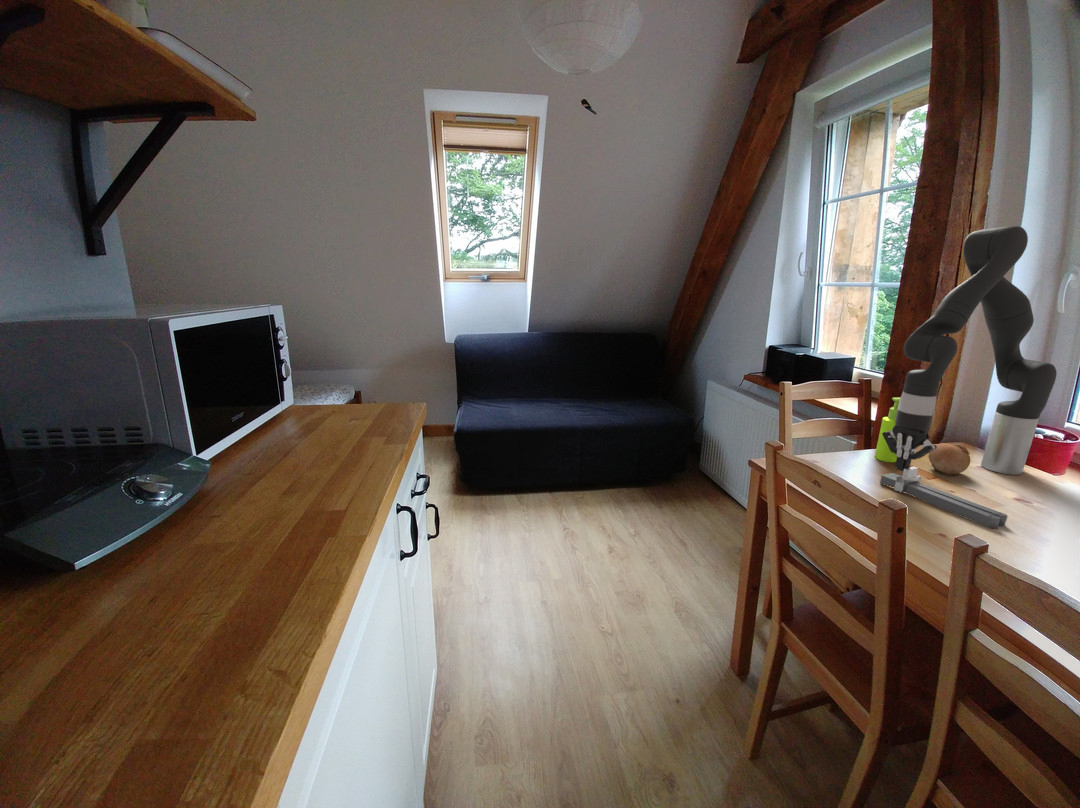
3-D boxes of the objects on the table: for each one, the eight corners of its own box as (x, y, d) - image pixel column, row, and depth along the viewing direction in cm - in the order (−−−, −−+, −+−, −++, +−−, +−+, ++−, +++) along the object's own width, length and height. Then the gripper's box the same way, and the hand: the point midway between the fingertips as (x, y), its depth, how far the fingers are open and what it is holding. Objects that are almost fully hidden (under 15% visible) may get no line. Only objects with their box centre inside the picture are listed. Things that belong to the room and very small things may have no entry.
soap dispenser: (904, 463, 149) (918, 401, 143) (879, 461, 150) (893, 400, 145) (895, 456, 155) (908, 396, 149) (871, 454, 156) (883, 395, 150)
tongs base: (880, 483, 135) (881, 475, 134) (890, 480, 137) (892, 472, 136) (994, 529, 112) (997, 519, 111) (1005, 525, 113) (1008, 516, 113)
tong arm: (901, 486, 133) (902, 479, 132) (905, 485, 133) (907, 478, 133) (1002, 525, 113) (1004, 517, 112) (1006, 524, 114) (1009, 515, 113)
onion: (957, 482, 143) (983, 456, 139) (948, 481, 138) (975, 454, 134) (925, 461, 150) (950, 435, 146) (915, 459, 144) (941, 433, 140)
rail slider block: (893, 489, 131) (898, 468, 129) (910, 485, 133) (915, 464, 131) (901, 492, 129) (906, 471, 127) (918, 488, 131) (923, 467, 130)
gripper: (880, 404, 131) (868, 463, 136) (934, 418, 120) (918, 482, 125) (898, 402, 134) (886, 459, 139) (952, 415, 122) (936, 477, 127)
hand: (901, 470), depth 132 cm, fingers closed
